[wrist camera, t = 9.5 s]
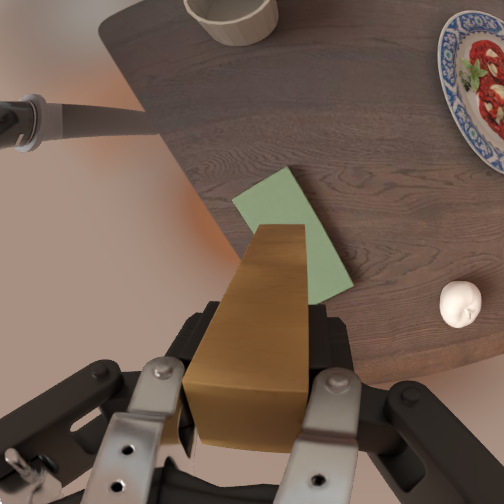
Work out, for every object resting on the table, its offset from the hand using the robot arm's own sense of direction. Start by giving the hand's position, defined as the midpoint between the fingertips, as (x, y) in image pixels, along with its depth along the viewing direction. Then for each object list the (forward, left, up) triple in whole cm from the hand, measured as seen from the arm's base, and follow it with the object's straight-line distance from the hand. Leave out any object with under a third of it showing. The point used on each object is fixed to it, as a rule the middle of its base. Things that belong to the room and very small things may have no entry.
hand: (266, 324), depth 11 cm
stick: (0, 0, -9) cm, 9 cm away
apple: (+26, -14, -28) cm, 40 cm away
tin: (-5, +25, -27) cm, 38 cm away
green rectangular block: (+1, -6, -27) cm, 28 cm away
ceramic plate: (+33, +18, -28) cm, 47 cm away
